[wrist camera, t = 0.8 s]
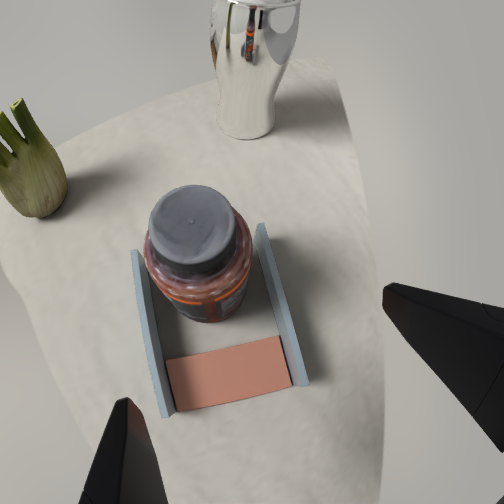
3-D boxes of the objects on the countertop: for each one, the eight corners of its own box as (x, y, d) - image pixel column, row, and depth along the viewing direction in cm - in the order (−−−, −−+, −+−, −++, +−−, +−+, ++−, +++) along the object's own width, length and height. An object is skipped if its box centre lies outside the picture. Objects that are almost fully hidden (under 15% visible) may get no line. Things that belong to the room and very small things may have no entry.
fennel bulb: (73, 171, 27) (23, 87, 16) (77, 211, 26) (15, 127, 14) (27, 192, 26) (-32, 120, 15) (28, 232, 24) (-44, 164, 13)
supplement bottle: (253, 260, 25) (272, 180, 15) (236, 332, 23) (243, 302, 13) (181, 243, 25) (154, 157, 15) (160, 313, 23) (109, 267, 13)
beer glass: (223, 93, 32) (226, -26, 18) (283, 106, 32) (309, -13, 18) (202, 135, 29) (195, 0, 15) (270, 150, 29) (298, 14, 15)
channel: (299, 383, 22) (309, 385, 19) (169, 412, 20) (161, 418, 18) (259, 238, 26) (263, 222, 23) (140, 263, 24) (130, 250, 22)
